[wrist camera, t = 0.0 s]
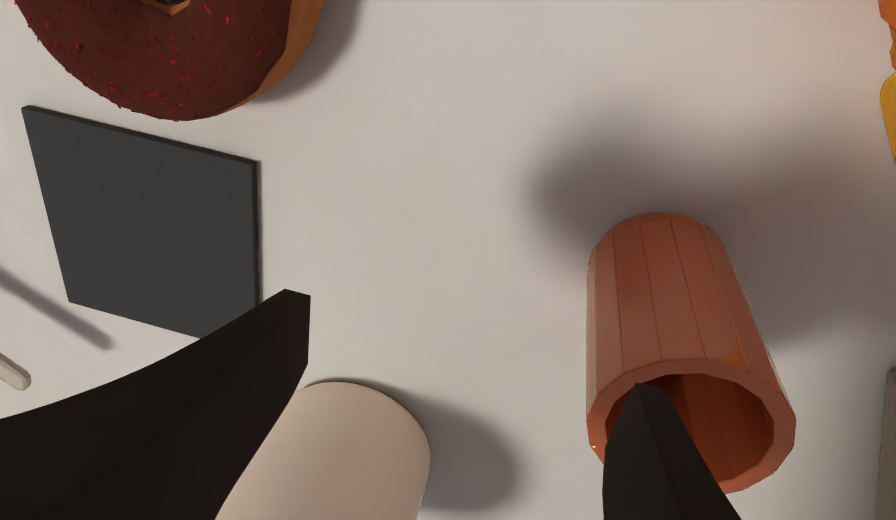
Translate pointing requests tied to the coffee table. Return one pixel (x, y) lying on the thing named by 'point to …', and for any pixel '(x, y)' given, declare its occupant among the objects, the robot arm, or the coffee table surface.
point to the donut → (175, 49)
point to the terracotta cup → (683, 346)
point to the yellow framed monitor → (888, 456)
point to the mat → (148, 223)
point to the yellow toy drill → (892, 7)
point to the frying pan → (14, 374)
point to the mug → (335, 460)
